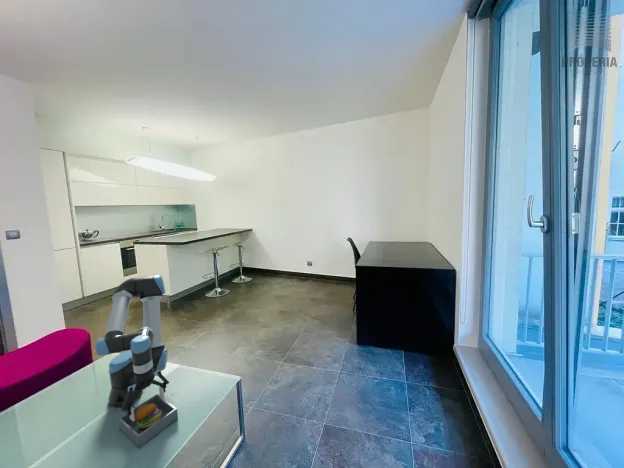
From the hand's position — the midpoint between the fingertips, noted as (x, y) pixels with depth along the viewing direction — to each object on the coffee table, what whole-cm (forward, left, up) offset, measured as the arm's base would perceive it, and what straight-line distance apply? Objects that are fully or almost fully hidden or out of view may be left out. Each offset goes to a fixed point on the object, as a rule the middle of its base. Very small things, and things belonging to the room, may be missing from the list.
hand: (148, 409), depth 124 cm
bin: (0, 0, -8) cm, 8 cm away
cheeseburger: (+1, -1, -7) cm, 7 cm away
